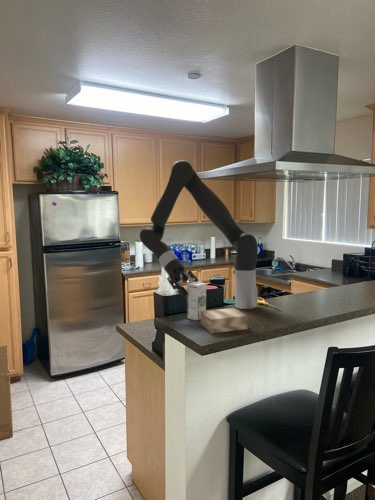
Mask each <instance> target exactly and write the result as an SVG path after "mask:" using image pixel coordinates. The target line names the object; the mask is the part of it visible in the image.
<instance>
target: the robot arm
mask: <svg viewBox="0 0 375 500" xmlns="http://www.w3.org/2000/svg"><path fill="white" fill-rule="evenodd" d="M184 188H185V189H186V191H188V192H189V194H190V195H191V196H192V198H193V199H194V201H195V202H196V204H197V207H199V208H200V210H201V211H202V213H203V214H204V215H205V216H206V217H207V218H208V219H209V221H211V223H212V224H213V225H215V226H216V227H217V229H218V230H219V231H220V232H221V233H222V234H223V235H224V236H225V238H226V239H227V240H228V242H229V244H230V245H231V246H232V248H233V249H234V251H235V252H236V261H235V263H234V303H235V306H234V308H235V309H238V310H239V309H240V310H253V309H255V308H258V304H259V303H258V302H259V301H258V300H259V299H258V297H259V296H258V285H257V284H256V282H257V281H256V279H257V278H256V275H257V274H256V268H257V267H256V266H257V263H258V241H257V239H256V237H255V236H254V235H253V234H249V233H246V232H244V230H243V229H241V227H240V226H238V225H237V223H236V222H235V220H234V218H233V217H232V214H231V213H230V210H229V209H228V207H227V206H226V205H225V203H224V202H223V201H222V200H221V199H220V197H219V196H218V195H217V194H216V193H215V192H214V191H213V190H212V189H211V188H209V186H208V185H206V184H205V183H204V182H203V181H202V179H201V178H200V176H198V174H197V172H196V171H195V170H194V167H193V166H192V164H191V163H190V162H189V161H188V160H185V159H184V160H183V159H182V160H177V161H175V162H174V163H173V165H172V167H171V170H170V175H169V179H168V182H167V184H166V187H165V189H164V191H163V194H162V195H161V197H160V199H159V200H158V202H157V204H156V206H155V208H154V211H153V212H152V215H151V218H150V221H151V223H152V227H144V228H142V229H141V230H140V232H139V238H140V241H141V242H142V245H144V247H146V248H147V249H148V250H149V251H150V252H151V253H152V254H153V255H154V256H155V257H156V259H157V260H158V261H159V263H160V266H161V267H162V268H163V270H164V272H166V274H167V276H168V277H167V278H166V280H167V282H168V283H169V284H170V286H171V288H172V289H173V290H177V291H179V293H180V294H181V295H182V296H183V297H184V298H185V297H187V295H188V292H187V289H186V288H185V286H183V284H186V285H187V284H190V283H194V282H199V279H198V278H197V276H196V275H195V274H194V272H192V270H188V271H186V270H185V266H184V264H183V263H182V261H181V260H180V259H179V258H178V257H177V255H176V254H175V253H174V252H173V251H172V250H171V248H170V246H169V245H168V243H166V242H164V241H162V239H163V237H164V233H165V228H166V224H167V222H168V220H169V218H170V216H171V214H172V211H173V210H174V207H175V204H176V202H177V200H178V198H179V196H180V195H181V192H182V191H183V189H184Z"/></svg>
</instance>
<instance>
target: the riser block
mask: <svg viewBox="0 0 375 500" xmlns="http://www.w3.org/2000/svg"><path fill="white" fill-rule="evenodd" d="M200 325H201V326H203V327H204V328H205V329H206V330H207V331H208V332H209V333H210V334H217V333H224V332H226V333H227V332H233V331H240V330H241V331H242V330H248V315H247V314H245V313H244V312H242V311H240V310H239V309H238V308H236V307H230V308H229V307H228V308H220V309H218V308H217V309H211V310H210V309H209V310H208V309H207V310H206V311H201V320H200Z"/></svg>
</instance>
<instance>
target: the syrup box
mask: <svg viewBox="0 0 375 500" xmlns="http://www.w3.org/2000/svg"><path fill="white" fill-rule="evenodd" d="M186 291H187V292H188V295H187V296H186V315H187V316H186V318H187V319H189V320H192V321H201V311H207V283H204V282H200V281H197V282H194V283H192V282H191V283H190V284H186Z"/></svg>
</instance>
